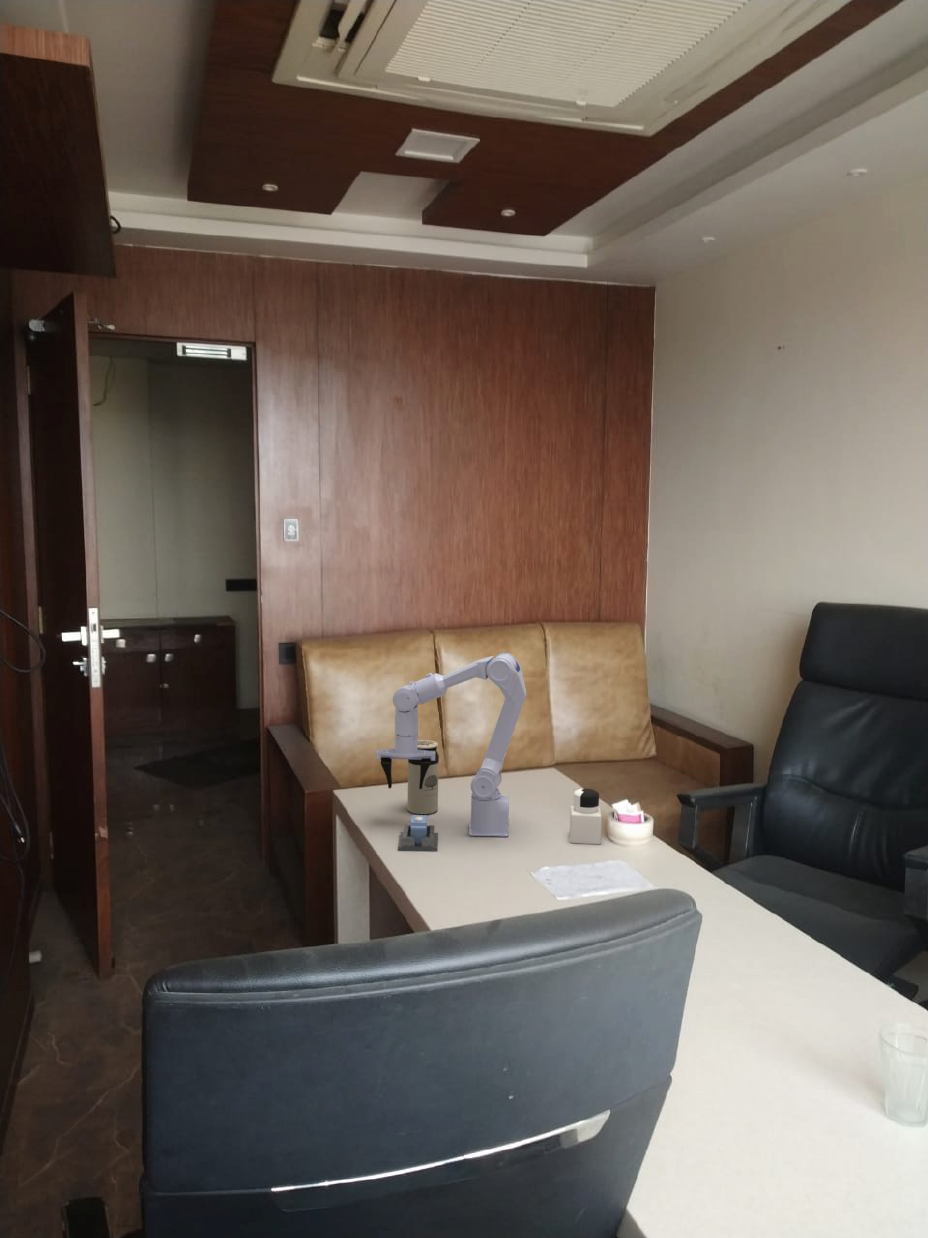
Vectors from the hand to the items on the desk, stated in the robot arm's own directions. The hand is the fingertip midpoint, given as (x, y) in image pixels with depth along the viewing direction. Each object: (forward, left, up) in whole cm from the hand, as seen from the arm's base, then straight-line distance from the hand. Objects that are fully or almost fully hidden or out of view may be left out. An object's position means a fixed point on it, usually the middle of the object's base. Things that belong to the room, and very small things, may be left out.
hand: (405, 787), depth 218 cm
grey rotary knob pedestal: (-44, +8, -10) cm, 46 cm away
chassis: (-4, +13, -9) cm, 17 cm away
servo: (-4, +13, -9) cm, 16 cm away
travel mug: (-4, -11, -10) cm, 15 cm away
